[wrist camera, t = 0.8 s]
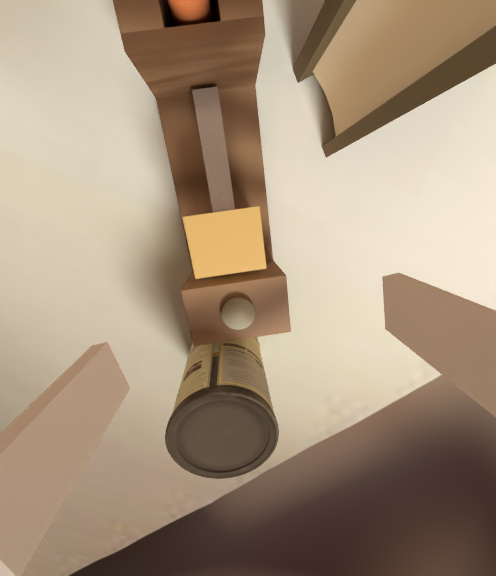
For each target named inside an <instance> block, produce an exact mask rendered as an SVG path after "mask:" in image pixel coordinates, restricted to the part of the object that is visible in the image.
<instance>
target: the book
mask: <svg viewBox="0 0 496 576" xmlns="http://www.w3.org/2000/svg"><path fill="white" fill-rule="evenodd" d="M494 64H496V0H325V3H324V5H323V7H322V9H321V11H320V13H319V15H318V17H317V20H316V22H315V24H314V26H313V28H312V30H311V32H310V34H309V36H308V39H307V41H306V43H305V45H304V47H303V49H302V51H301V53H300V56H299V58H298V60H297V62H296V64H295V66H294V68H293V71H294V74H295V76H296V79H297V82H298V83H299V82H300V81H302V80H304V79H306V78H307V77H309V76H311V75H313V74H314V75H315V77H316V79H317V80H318V82H319V84H320V85H321V87H322V89H323V90H324V92H325V94H326V97H327V100H328V103H329V106H330V109H331V112H332V114H333V121H334V129H335V136H336V137H335V138H333V139H332V140H330V141H329V142H327V143H326V144H325V145H323V146H322V148H323V150H324V153H325V156H326V157H328V156H330V155H332V154H333V153H335V152H337V151H339V150H341V149H342V148H344V147H346V146H348V145H350V144H351V143H353V142H355V141H357V140H359V139H360V138H362V137H364V136H366V135H368V134H369V133H371V132H373V131H375V130H377V129H378V128H380V127H382V126H384V125H386V124H387V123H389V122H391V121H393V120H395V119H396V118H398V117H400V116H402V115H404V114H405V113H407V112H409V111H411V110H413V109H414V108H416V107H418V106H420V105H422V104H424V103H425V102H427V101H429V100H431V99H433V98H434V97H436V96H438V95H440V94H442V93H443V92H445V91H447V90H449V89H451V88H452V87H454V86H456V85H458V84H460V83H461V82H463V81H465V80H467V79H469V78H470V77H472V76H474V75H476V74H478V73H479V72H481V71H483V70H485V69H487V68H488V67H490V66H492V65H494Z"/></svg>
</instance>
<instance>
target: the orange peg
mask: <svg viewBox="0 0 496 576" xmlns="http://www.w3.org/2000/svg"><path fill="white" fill-rule="evenodd" d="M167 1H168V4H169V7H170V11H171V14H172V17H173V21H174V24H175V26H176V27H177V26H185V25H193V24H201V23H209V22H212V12H211V2H210V0H167Z"/></svg>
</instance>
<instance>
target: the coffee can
mask: <svg viewBox="0 0 496 576" xmlns="http://www.w3.org/2000/svg"><path fill="white" fill-rule="evenodd" d="M278 436H279V429H278V423H277V420H276V417H275V415H274V412H273V407H272V403H271V398H270V394H269V389H268V385H267V380H266V376H265V371H264V367H263V362H262V358H261V353H260V346H259V342H258V340H257V338H256V337H252V338H245V339H239V340H232V341H226V342H219V343H213V344H206V345H199V346H193V341H192V344H191V348H190V353H189V356H188V360H187V364H186V367H185V371H184V374H183V378H182V381H181V385H180V388H179V391H178V395H177V399H176V403H175V406H174V410H173V413H172V415H171V417H170V419H169V422H168V425H167V429H166V434H165V441H166V446H167V449H168V452H169V453H170V455H171V457H172V458H173V459H174V460H175V462H176V463H177V464H179V465H180V466H181V467H182V468H183V469H185V470H187V471H189V472H191V473H193V474H195V475H198V476H202V477H207V478H216V479H222V478H232V477H236V476H240V475H243V474H246V473H248V472H250V471H252V470H254V469H256V468H258V467H259V466H261V465H262V464H263V463H264V462H265V461H266V460H267V459H268V458H269V457H270V456H271V454H272V453H273V451H274V450H275V447H276V445H277V442H278Z"/></svg>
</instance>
